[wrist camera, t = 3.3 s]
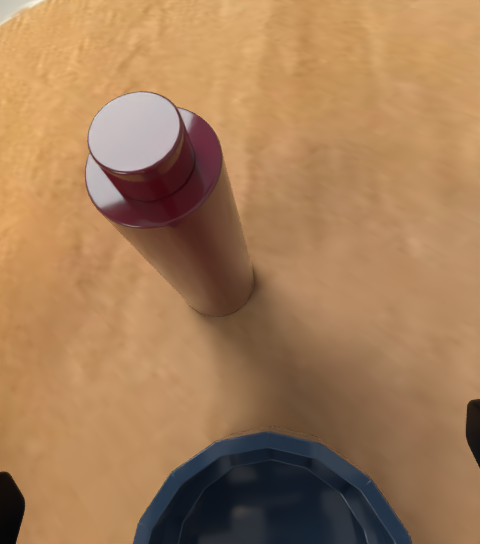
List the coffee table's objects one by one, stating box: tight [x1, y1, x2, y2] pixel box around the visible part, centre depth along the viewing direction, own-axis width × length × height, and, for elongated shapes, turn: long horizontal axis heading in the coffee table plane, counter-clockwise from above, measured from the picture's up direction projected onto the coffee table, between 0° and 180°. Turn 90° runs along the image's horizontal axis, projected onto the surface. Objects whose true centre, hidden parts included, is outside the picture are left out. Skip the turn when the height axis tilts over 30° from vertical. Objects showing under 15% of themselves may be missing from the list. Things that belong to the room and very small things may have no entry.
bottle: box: [85, 92, 254, 317], centre depth 17 cm, size 4×4×14 cm
